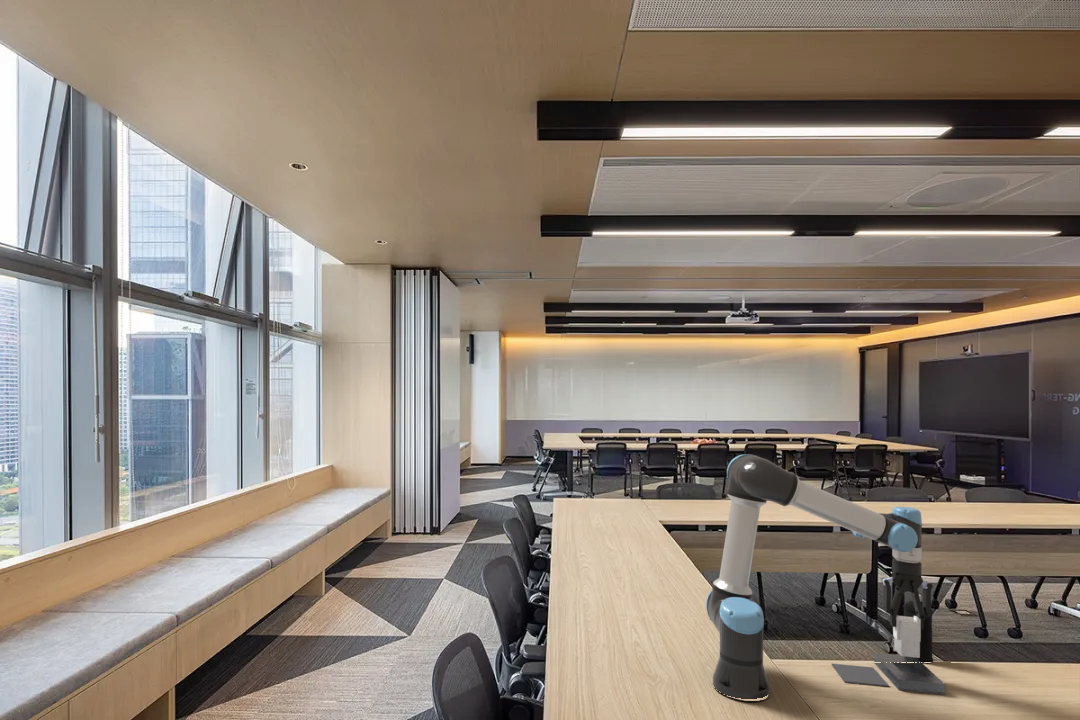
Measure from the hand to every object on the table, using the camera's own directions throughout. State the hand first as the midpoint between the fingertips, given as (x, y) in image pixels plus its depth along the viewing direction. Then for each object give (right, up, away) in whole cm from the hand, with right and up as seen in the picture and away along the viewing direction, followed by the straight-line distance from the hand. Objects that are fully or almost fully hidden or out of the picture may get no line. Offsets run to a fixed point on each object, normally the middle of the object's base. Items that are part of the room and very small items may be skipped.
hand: (906, 638), depth 180 cm
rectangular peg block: (0, -4, 0) cm, 4 cm away
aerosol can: (+12, -13, +14) cm, 23 cm away
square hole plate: (0, -11, -1) cm, 11 cm away
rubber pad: (-14, -11, 0) cm, 18 cm away
